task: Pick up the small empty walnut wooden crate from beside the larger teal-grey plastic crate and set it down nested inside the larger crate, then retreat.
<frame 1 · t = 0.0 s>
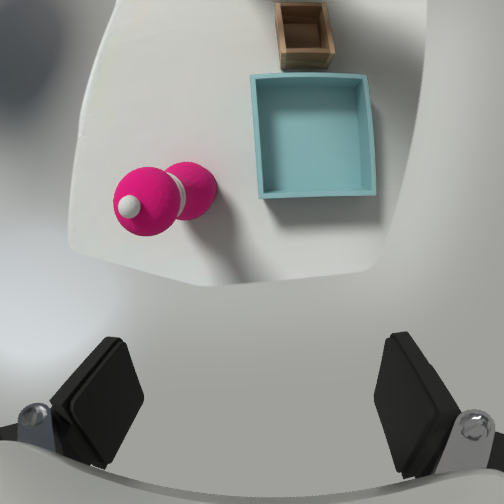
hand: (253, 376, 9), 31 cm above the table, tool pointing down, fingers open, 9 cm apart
big crate: (310, 136, 36), on the table
pepper mill: (195, 188, 39), on the table
small crate: (301, 44, 32), on the table
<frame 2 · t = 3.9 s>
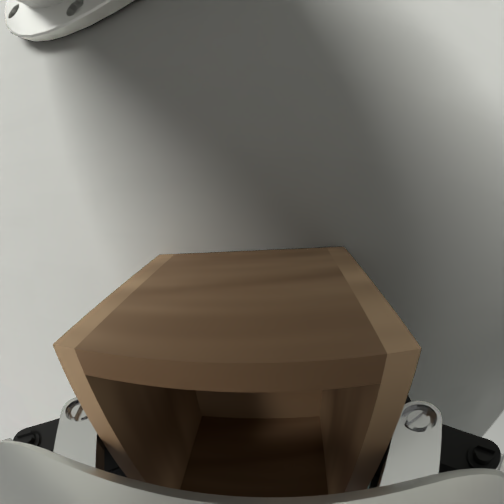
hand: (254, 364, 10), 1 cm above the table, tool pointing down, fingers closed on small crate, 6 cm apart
small crate: (256, 350, 11), on the table, touching gripper
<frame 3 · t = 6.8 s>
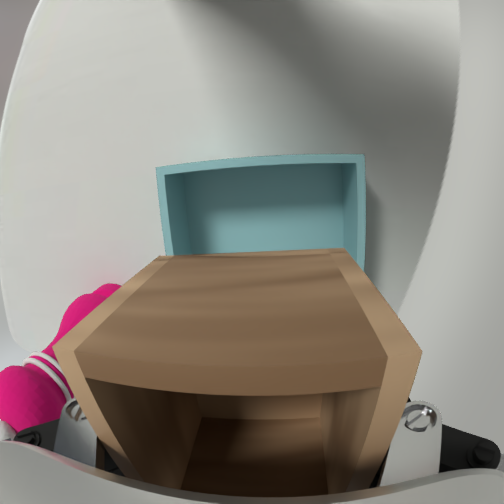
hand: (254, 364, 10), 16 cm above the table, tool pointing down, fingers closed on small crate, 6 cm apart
big crate: (267, 248, 25), on the table
pepper mill: (118, 309, 28), on the table
small crate: (256, 351, 11), point 15 cm above the table, touching gripper
when the fingers open (3 cm above the table, at t = 9.7 s): small crate drops 1 cm, resting on big crate.
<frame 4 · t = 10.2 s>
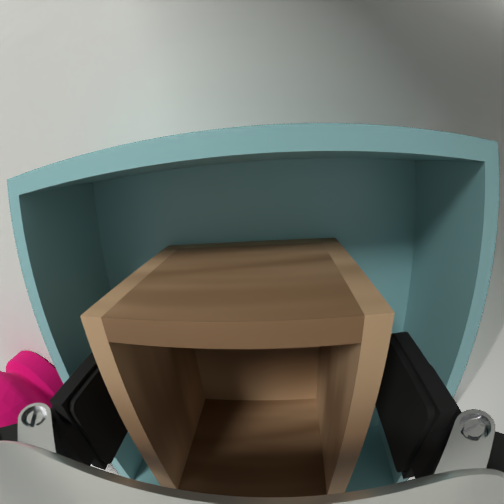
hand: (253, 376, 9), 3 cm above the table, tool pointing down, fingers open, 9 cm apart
big crate: (258, 328, 13), on the table
pepper mill: (48, 383, 16), on the table
small crate: (256, 334, 12), point 1 cm above the table, touching big crate
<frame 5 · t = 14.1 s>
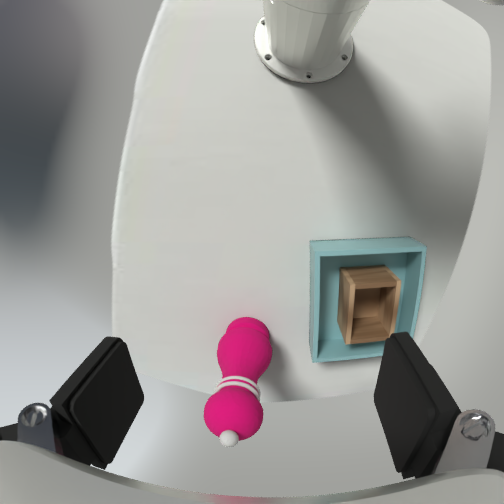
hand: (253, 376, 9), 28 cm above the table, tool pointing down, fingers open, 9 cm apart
big crate: (360, 292, 38), on the table
pepper mill: (247, 334, 41), on the table
small crate: (360, 293, 37), point 1 cm above the table, touching big crate
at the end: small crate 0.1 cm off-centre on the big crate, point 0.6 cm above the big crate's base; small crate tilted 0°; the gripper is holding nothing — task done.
